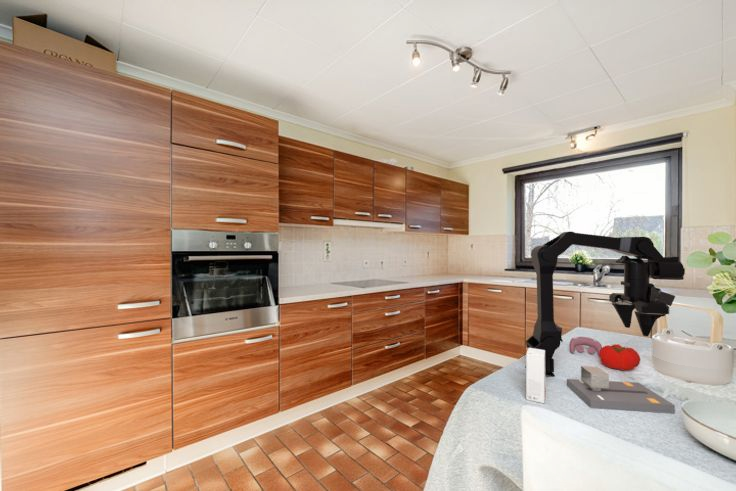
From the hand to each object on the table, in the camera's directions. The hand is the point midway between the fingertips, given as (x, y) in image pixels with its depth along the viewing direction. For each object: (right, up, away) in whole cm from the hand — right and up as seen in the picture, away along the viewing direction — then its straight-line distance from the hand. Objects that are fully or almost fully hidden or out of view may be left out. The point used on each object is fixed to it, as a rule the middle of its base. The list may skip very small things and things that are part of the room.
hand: (636, 331), depth 91 cm
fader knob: (-20, -12, -11) cm, 26 cm away
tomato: (+2, -14, +9) cm, 17 cm away
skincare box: (-35, -15, -10) cm, 40 cm away
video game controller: (0, -14, +21) cm, 26 cm away
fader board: (-15, -14, -12) cm, 24 cm away
